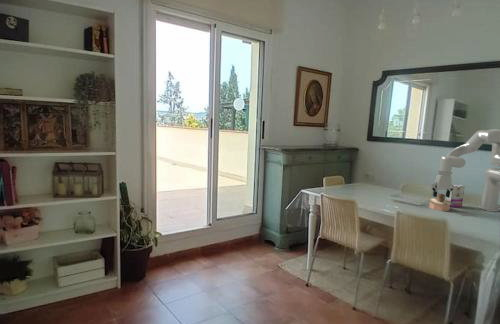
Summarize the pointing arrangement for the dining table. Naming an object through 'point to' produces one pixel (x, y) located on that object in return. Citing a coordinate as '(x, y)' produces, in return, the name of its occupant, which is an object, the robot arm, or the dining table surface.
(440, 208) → the bowl
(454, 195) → the candy bar box
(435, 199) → the lid
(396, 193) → the dining table surface
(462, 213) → the mat
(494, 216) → the dining table surface
